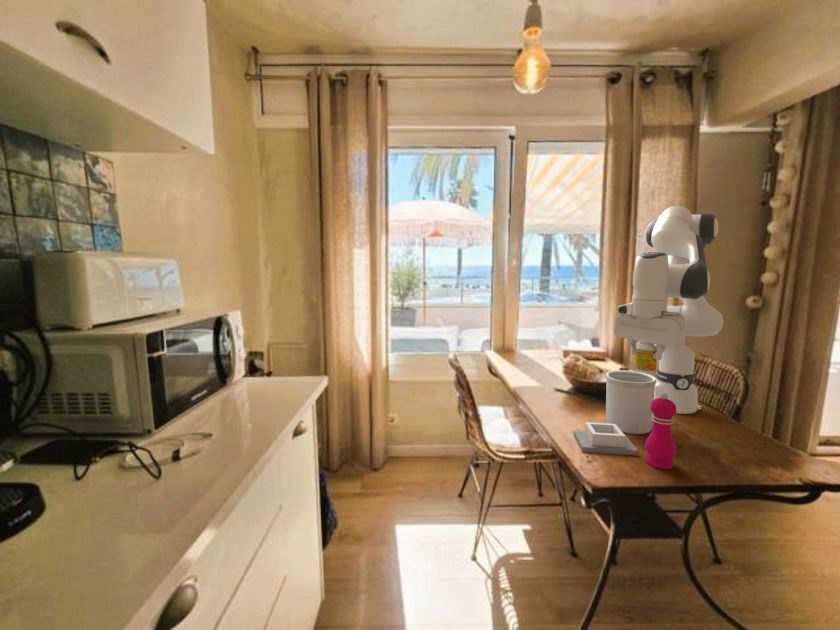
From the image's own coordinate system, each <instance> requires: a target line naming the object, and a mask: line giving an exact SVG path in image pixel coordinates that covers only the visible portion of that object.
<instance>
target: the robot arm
mask: <svg viewBox="0 0 840 630" xmlns="http://www.w3.org/2000/svg"><path fill="white" fill-rule="evenodd" d="M719 230H720V225H719V221H718V219H717V217H716V216H715V215H714V214H713V213H701V214H697V213H694V214H692V212H691V210H690V209H688V208H687V207H685V206H681V205H673V206H670V207H668V208H666V209H664V210H663V212H662V213H661V214H660V215H659V217H658V218H657V219H655V220H652V221H651V222H649V223H648V224H647V226H646V229H645V233H644V237H645V241H646V244H647V245H648V246H649V247H651V248H654V249H655V250H656V251H649V252H642V253H640V254H638V255H637V256H636V259H635V262H634V267H633V273H632V278H631V287H632V289H633V294H632V295H631V302H630V303H629V302H628V303H625V304H622V305H618V306H617V307H616V308H615V313H616V314H617V315H616V316H615V317H614V324H613V334H614V335H615V337H616V338H621V339H627V340H628V344H629V345H628V346H629V347H630V348H631V352H630V353H631V356H635V355H636V346H637V345H638V344H637V343H638V342H639V341H640V338H644V339H645V341H646V342H647V343H653V344H654V345H655V346H656V348H657V352H656V353H653V355H652V356H653V357H652V359H654V360H657V361H658V368H657V369H656V372H655V373H656V374H655V378H656V384H655V390H654V399H656V398H661V397H660V395H661V394H662V393H666V394H667V395H668V398H667V399H669V400H671V401H672V402H673V403H674V404H675V405H676V414H681V415H683V414H685V415H687V414H689V415H690V414H694V413H696V412H697V411H699V410H702V405H699V402H698V401H699V400H698V399H699V397H698V396H699V395H698V394H699V393H698V387H697V386H696V385H695V380H696V374H695V372H694V371H695V359H696V355H695V352H694V351H693V349H691V348H690V347H688V346H687V345H685V344H686V337H699V338H700V337H711V336H712V337H713V336H716V335H717V334H719V333H720V332H721V330H722V328H723V325H724V318H723V315H722V314H721V312H720V311H719V310H718V309H716V308H715V307H714V306H712V305H711V304H710V303H709V302H708V301H707V300H706V298H705V297H704V296H705V295H706V294H707V293H708V291H709V289H710V286H711V275H710V271H709V269H708V265H707V259H706V253H705V248H706V246H708V245H710V244H712V242H714V240H715V239H716V237H717V235H718V234H719V233H718V232H719ZM668 298H677V299H679V300H680V301H681V302H682V305H668V304H669V303H668V300H669V299H668Z"/></svg>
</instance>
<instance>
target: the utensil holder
mask: <svg viewBox="0 0 840 630" xmlns="http://www.w3.org/2000/svg"><path fill="white" fill-rule="evenodd" d="M605 381H606V385H605V386H606V387H605V388H606V389H605V391H606V393H605V394H606V395H605V422H606V423H609V424H616V425H617V426H618V428H619V429H620V430H621V431H622V433H624V434H625V433H626V434H629V435H630V434H632V435H643V434H648V433H651V432H652V429H653V420H652V414H653V412H652V411H651V409H650V405H651V402H652V401H653V400H654V390H655V384H656V376H654V375H652V374H650V373H644V372H639V371H636V370H626V369H620V370H619V369H615V370H610V371H607V372H606V373H605Z"/></svg>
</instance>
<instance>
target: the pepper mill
mask: <svg viewBox="0 0 840 630" xmlns="http://www.w3.org/2000/svg"><path fill="white" fill-rule="evenodd" d="M660 397H661V398H656V399H654V400H653V401H652V402H651V405H650V409H651V411H652V412H653V414H652V429H651V431H650V432H649V436H648V437H647V439H646V440H645V445H644V447H645V448H644V449H645V451H647V454H646V463H647V464H649V465H650V466H652V467H654V468H657V469H661V470H671V469H673V467H674V457H675V456H676V454H677V447H676V442H675V440H674V438H673V436H672V435H673V434H672V424H674V416H675V415H676V414H677V413H676V405H675V404H674V403H673V402H672V401H671V400H669V399H667V398H668V395H667V394H666V393H662V394H661V395H660Z"/></svg>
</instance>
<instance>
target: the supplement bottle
mask: <svg viewBox="0 0 840 630" xmlns="http://www.w3.org/2000/svg"><path fill="white" fill-rule="evenodd" d="M638 342H639V344H636V345H637V346H636V355H634V360H635V361H634V371H636V372H642V373H646V374H653V373H656V372H657V364H658V363H657V362H658V360H654V359H652V357H653V356H652V355H653V353H656V352H657V350H658V348H656V346H657V345H656V344H653V343H647V342H646V341H645V339H644V338H640V341H638Z"/></svg>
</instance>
